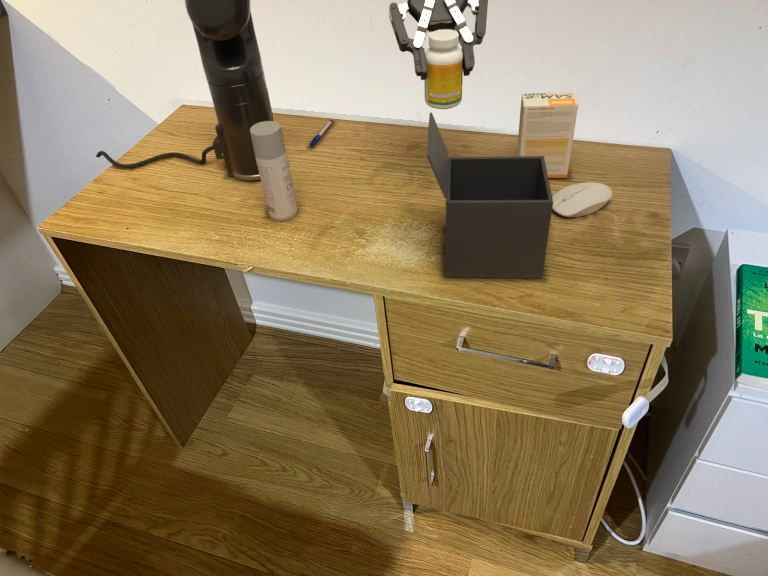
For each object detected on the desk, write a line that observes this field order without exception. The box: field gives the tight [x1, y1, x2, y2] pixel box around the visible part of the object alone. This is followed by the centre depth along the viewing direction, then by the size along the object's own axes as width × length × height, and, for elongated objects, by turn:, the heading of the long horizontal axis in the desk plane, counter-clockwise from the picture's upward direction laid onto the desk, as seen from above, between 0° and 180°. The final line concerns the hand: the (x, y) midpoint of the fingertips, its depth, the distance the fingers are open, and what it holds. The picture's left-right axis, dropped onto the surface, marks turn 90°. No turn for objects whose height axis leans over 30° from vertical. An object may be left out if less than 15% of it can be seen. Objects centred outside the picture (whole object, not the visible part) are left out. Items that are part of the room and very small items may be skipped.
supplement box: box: [516, 91, 579, 179], centre depth 96 cm, size 8×5×13 cm, turn 84°
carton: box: [445, 155, 553, 280], centre depth 81 cm, size 13×11×12 cm
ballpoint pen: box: [309, 119, 333, 148], centre depth 114 cm, size 10×1×1 cm, turn 163°
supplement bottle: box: [423, 29, 464, 110], centre depth 82 cm, size 5×5×10 cm
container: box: [250, 120, 299, 222], centre depth 91 cm, size 5×5×15 cm
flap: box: [425, 112, 449, 199], centre depth 75 cm, size 6×11×1 cm
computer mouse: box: [552, 181, 613, 219], centre depth 91 cm, size 6×10×3 cm, turn 112°
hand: (445, 75), depth 81 cm, fingers closed on supplement bottle, 5 cm apart
